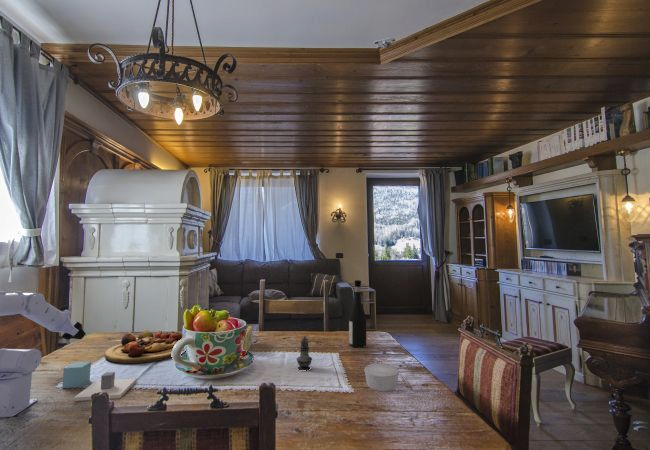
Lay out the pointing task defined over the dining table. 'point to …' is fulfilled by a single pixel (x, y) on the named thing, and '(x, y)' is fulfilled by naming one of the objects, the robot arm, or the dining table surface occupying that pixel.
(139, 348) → the wooden plate with food
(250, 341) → the candy box
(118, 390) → the post stand
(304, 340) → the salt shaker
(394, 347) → the dining table surface
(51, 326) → the robot arm
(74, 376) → the pale blue cube
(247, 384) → the dining table surface
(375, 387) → the ramekin
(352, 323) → the wine bottle
